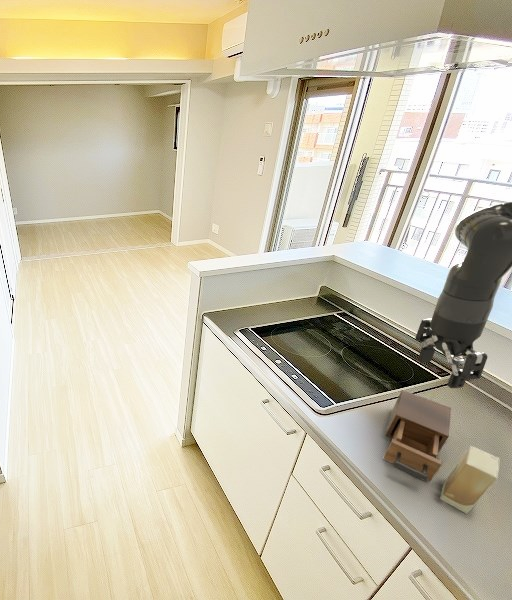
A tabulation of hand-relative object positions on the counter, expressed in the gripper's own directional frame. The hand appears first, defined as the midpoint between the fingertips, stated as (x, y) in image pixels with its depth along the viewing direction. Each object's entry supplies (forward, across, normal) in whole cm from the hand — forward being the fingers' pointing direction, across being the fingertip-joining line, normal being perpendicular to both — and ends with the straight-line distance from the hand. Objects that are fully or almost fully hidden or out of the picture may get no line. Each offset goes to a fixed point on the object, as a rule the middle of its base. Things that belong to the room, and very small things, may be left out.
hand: (438, 373), depth 73 cm
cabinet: (+21, +2, 0) cm, 21 cm away
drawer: (+19, -8, +7) cm, 22 cm away
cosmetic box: (+21, -16, +2) cm, 26 cm away
